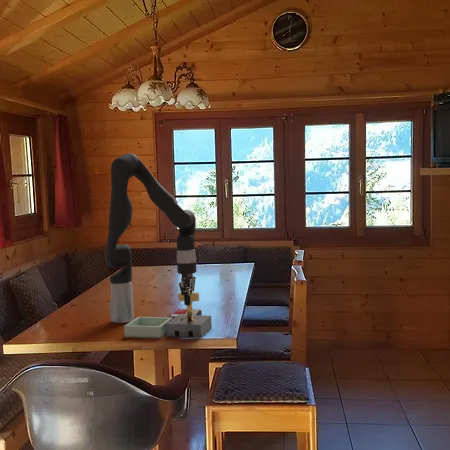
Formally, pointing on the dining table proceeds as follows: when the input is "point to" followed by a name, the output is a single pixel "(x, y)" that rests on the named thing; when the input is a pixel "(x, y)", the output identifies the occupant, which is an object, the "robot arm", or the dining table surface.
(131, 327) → the tray
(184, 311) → the calculator
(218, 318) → the dining table surface
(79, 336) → the dining table surface
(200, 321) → the lock block
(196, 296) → the t key
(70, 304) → the dining table surface
